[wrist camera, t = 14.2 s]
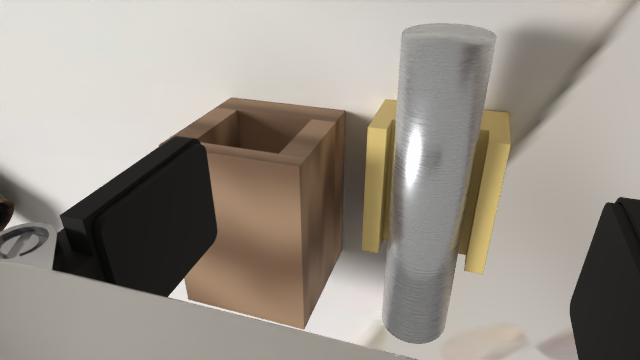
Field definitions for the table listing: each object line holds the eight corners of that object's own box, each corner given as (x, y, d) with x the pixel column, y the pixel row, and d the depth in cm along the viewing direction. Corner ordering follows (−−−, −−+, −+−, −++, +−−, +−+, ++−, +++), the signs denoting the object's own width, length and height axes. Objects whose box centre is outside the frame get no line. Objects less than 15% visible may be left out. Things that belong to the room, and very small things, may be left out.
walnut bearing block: (230, 97, 31) (158, 145, 25) (344, 110, 29) (299, 166, 22) (244, 231, 37) (188, 299, 30) (341, 250, 34) (304, 329, 28)
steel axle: (409, 21, 22) (394, 43, 19) (496, 26, 21) (495, 50, 18) (388, 289, 32) (376, 334, 29) (448, 302, 31) (441, 350, 28)
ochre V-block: (385, 99, 28) (367, 127, 24) (509, 112, 26) (510, 144, 22) (377, 211, 32) (361, 250, 28) (484, 230, 30) (482, 274, 26)
